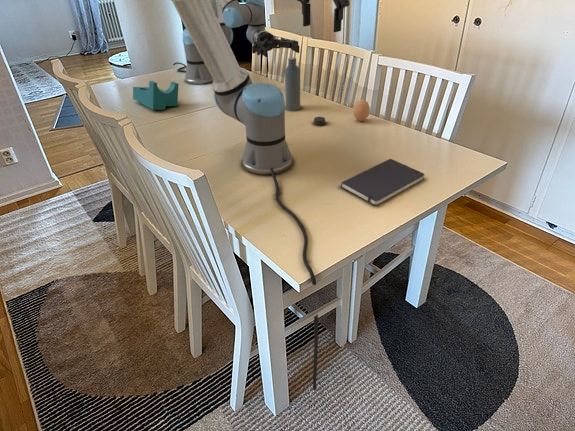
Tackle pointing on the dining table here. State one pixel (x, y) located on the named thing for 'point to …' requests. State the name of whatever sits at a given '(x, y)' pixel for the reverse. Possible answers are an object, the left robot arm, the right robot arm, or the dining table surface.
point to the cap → (319, 121)
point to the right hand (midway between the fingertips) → (321, 28)
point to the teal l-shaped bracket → (156, 96)
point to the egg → (361, 110)
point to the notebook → (382, 181)
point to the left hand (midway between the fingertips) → (282, 51)
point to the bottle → (292, 85)
